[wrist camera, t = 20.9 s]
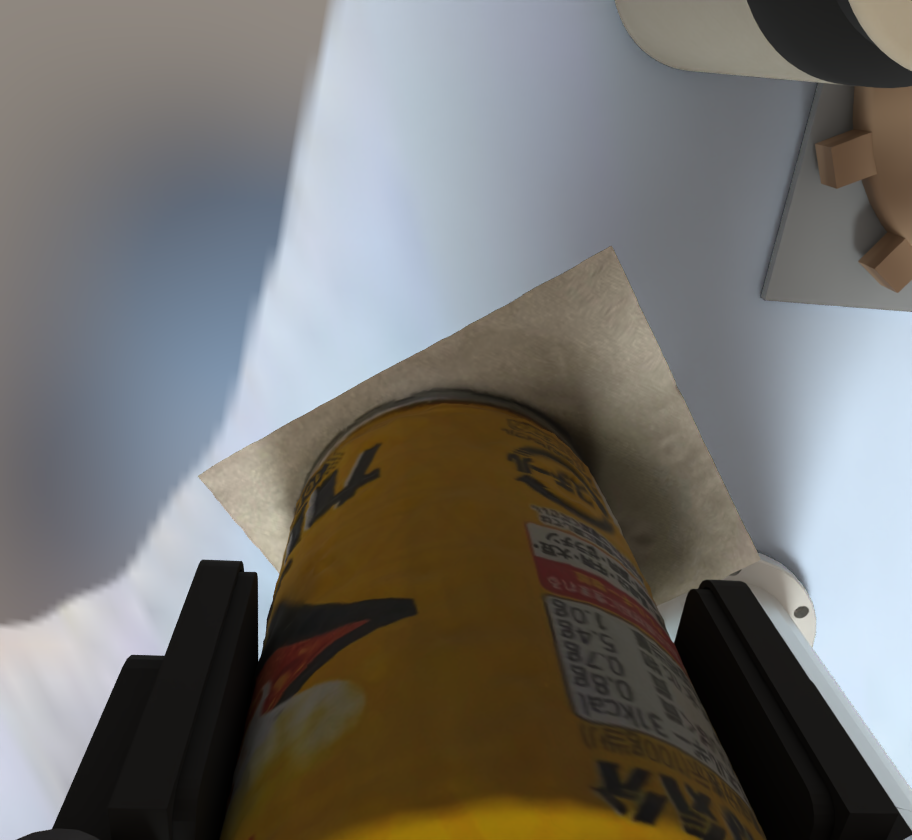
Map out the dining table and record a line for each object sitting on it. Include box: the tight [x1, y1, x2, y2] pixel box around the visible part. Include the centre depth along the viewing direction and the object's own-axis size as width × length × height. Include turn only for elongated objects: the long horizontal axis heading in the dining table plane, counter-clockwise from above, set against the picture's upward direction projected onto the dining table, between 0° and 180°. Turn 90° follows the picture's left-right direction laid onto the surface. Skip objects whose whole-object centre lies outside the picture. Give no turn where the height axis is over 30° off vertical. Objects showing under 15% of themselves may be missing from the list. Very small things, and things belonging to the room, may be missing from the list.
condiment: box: [198, 246, 767, 840], centre depth 10 cm, size 7×8×12 cm
